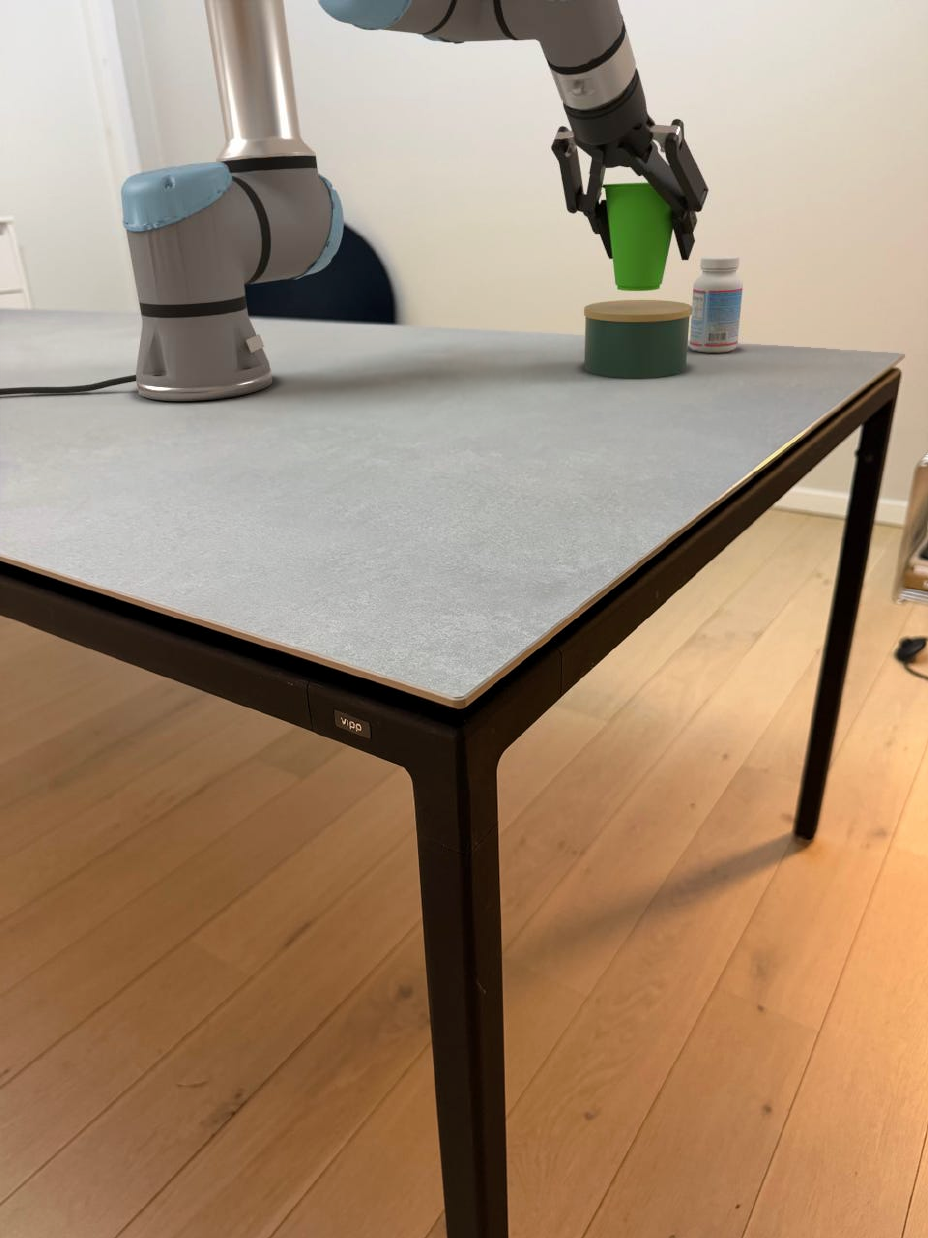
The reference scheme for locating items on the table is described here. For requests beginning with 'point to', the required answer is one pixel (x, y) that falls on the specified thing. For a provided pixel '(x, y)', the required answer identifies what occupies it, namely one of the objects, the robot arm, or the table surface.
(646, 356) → the tin
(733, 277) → the pill bottle
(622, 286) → the cup
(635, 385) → the table surface
